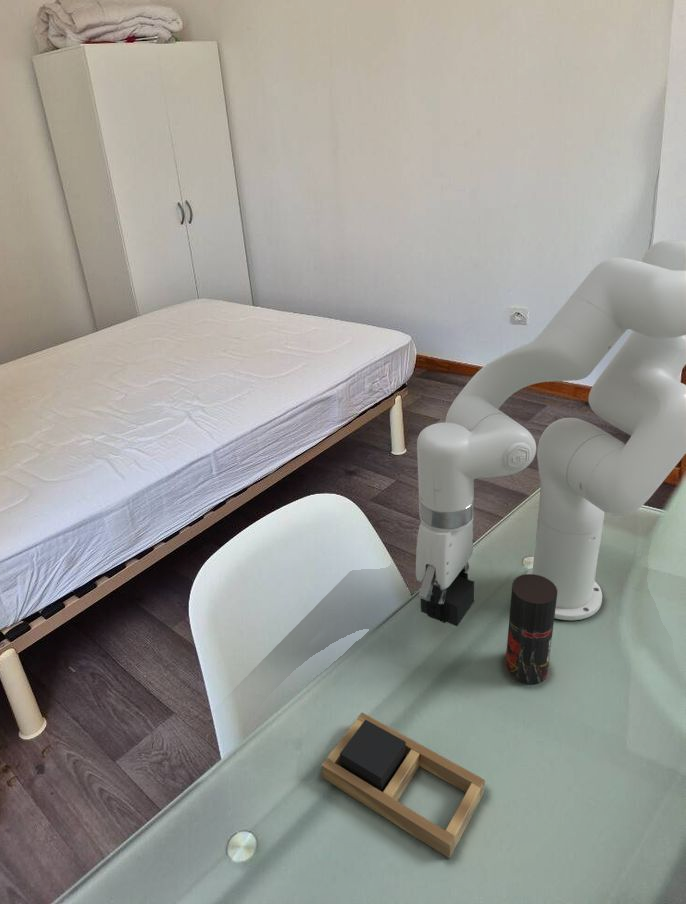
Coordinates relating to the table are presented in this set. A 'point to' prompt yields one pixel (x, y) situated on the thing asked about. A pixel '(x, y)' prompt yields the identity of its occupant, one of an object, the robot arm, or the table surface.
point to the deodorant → (530, 628)
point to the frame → (388, 799)
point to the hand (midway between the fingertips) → (447, 603)
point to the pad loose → (455, 599)
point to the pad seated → (373, 755)
